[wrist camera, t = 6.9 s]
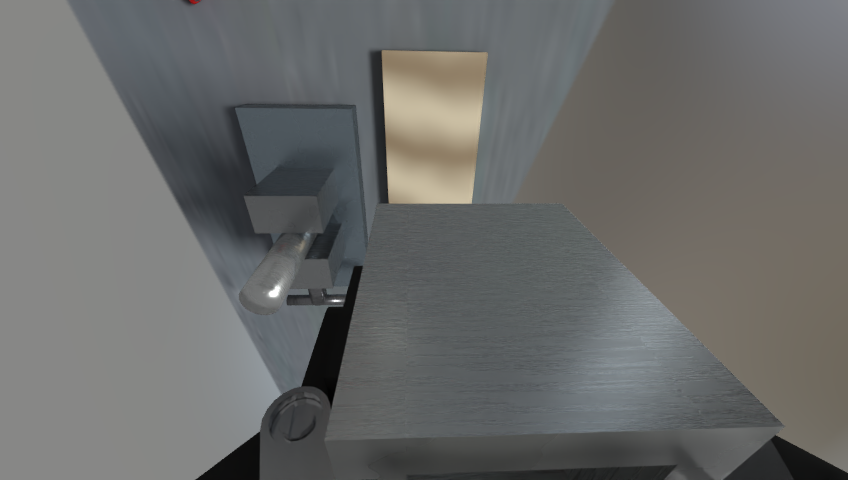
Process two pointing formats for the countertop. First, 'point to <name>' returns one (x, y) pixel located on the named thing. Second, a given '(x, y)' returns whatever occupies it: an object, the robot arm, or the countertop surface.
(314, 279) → the grey peg stand
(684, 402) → the white hollow square block
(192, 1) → the tow hook
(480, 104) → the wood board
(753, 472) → the robot arm
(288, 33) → the countertop surface
